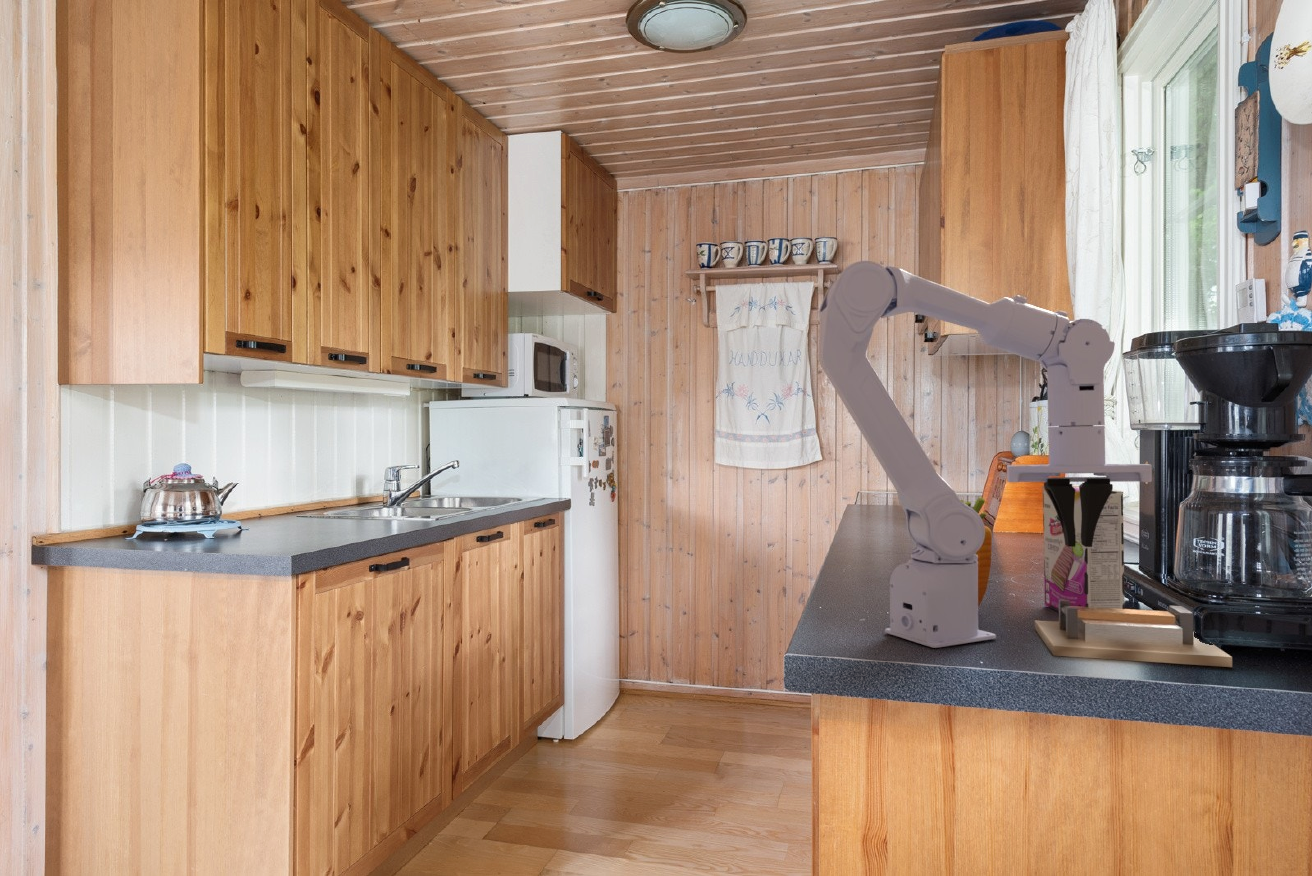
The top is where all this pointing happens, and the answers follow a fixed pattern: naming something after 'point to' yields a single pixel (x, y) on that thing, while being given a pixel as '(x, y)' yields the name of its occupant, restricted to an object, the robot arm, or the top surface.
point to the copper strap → (1123, 614)
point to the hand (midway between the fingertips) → (1078, 545)
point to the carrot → (983, 553)
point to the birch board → (1130, 649)
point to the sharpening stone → (1129, 629)
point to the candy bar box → (1085, 557)
